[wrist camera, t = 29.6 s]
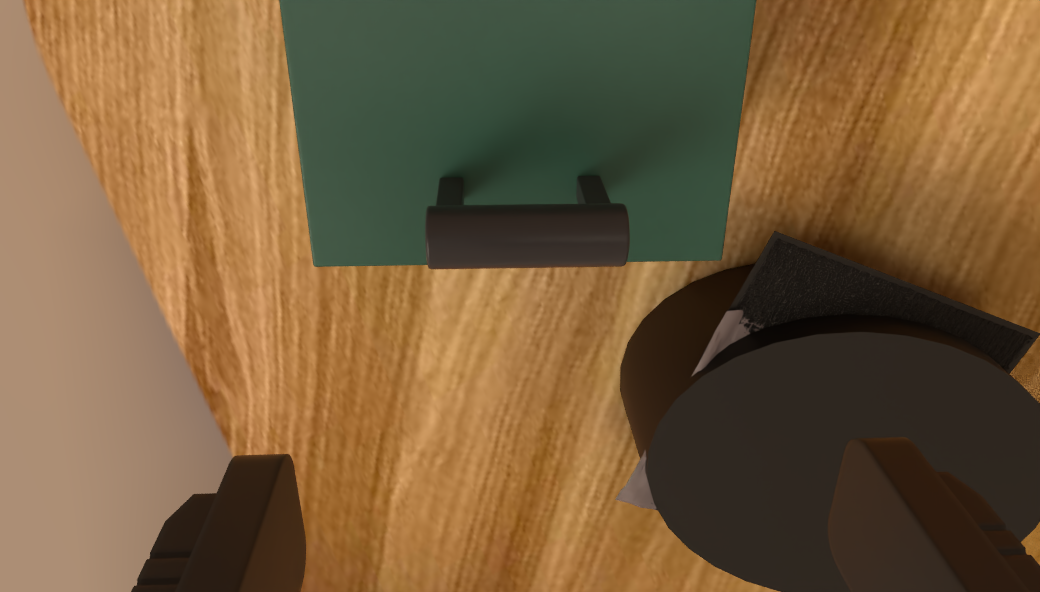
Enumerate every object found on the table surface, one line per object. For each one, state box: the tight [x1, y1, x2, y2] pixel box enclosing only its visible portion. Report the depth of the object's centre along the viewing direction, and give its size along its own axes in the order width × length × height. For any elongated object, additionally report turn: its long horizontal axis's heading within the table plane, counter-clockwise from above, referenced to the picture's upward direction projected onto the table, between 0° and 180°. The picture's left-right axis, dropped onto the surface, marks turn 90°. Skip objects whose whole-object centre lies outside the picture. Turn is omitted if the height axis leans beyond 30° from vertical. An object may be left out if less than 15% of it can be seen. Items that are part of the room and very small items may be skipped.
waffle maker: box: [615, 231, 1040, 592], centre depth 35 cm, size 14×18×8 cm
